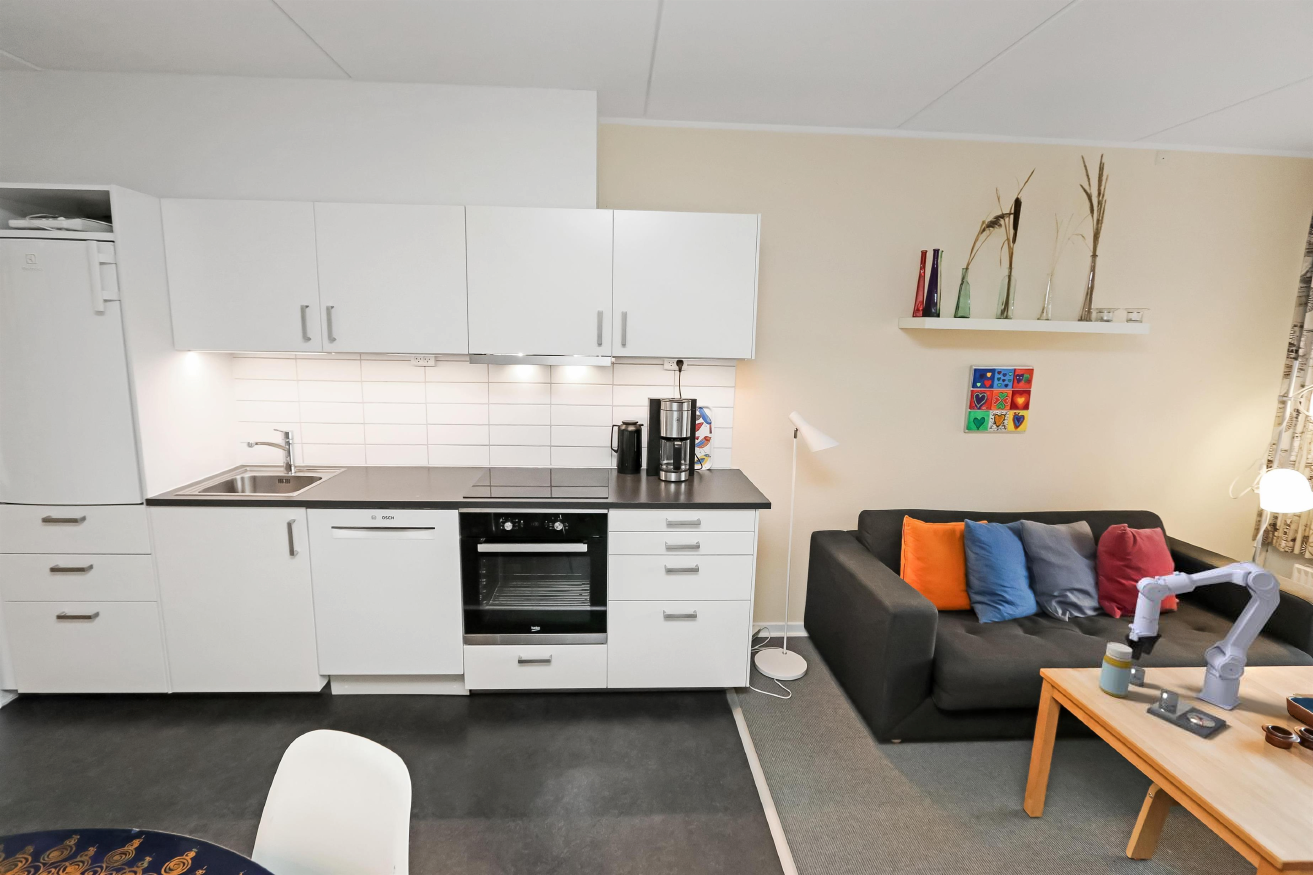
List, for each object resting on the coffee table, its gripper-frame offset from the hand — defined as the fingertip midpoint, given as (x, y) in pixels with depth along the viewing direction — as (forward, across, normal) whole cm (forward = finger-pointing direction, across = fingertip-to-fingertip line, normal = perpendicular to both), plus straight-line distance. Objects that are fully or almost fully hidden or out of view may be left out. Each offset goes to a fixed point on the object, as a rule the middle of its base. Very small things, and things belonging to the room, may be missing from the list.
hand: (1140, 656), depth 192 cm
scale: (+9, +9, +16) cm, 21 cm away
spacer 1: (+10, 0, 0) cm, 10 cm away
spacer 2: (+7, +13, +13) cm, 19 cm away
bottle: (+10, +13, -1) cm, 16 cm away
